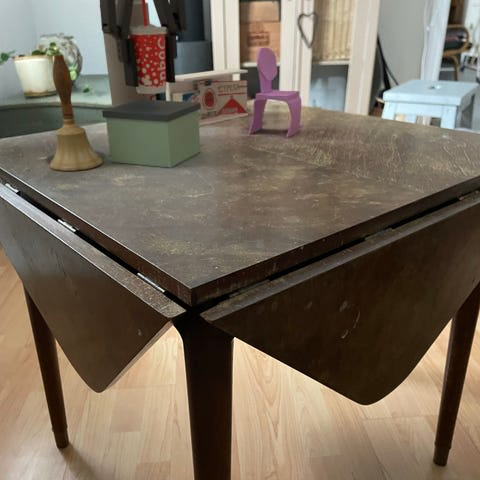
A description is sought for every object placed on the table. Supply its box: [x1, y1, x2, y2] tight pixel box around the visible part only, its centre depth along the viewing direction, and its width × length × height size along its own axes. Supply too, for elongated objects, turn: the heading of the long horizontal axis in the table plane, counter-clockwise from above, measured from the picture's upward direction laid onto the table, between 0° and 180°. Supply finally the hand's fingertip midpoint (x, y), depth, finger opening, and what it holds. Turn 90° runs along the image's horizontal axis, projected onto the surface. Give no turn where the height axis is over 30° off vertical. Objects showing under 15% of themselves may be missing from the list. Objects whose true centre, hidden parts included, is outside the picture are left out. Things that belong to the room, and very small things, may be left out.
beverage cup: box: [128, 0, 167, 95], centre depth 82 cm, size 6×6×14 cm
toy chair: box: [247, 46, 302, 139], centre depth 102 cm, size 8×9×15 cm
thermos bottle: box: [102, 0, 157, 108], centre depth 94 cm, size 8×8×28 cm
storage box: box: [101, 99, 201, 169], centre depth 89 cm, size 12×12×8 cm
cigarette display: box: [165, 68, 249, 127], centre depth 116 cm, size 20×6×9 cm, turn 136°
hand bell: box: [49, 54, 103, 172], centre depth 83 cm, size 8×8×16 cm
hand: (150, 83), depth 85 cm, fingers closed on beverage cup, 6 cm apart
